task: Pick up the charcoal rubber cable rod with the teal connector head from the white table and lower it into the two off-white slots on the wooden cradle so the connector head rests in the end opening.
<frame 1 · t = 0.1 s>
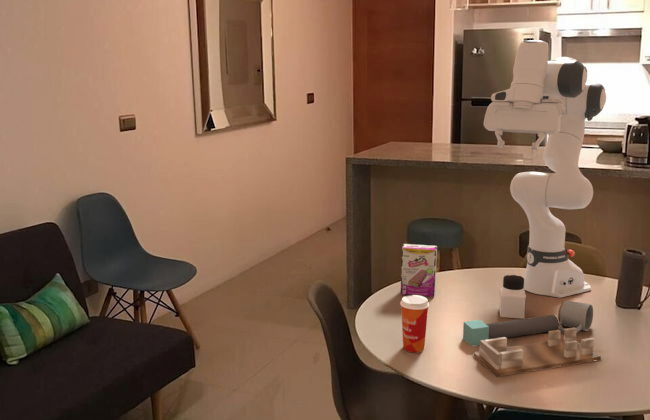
hand: (517, 148, 182), 52 cm above the table, tool tilted 20°, fingers open, 8 cm apart
medicine bottle: (511, 314, 204), on the table
paper cup: (413, 348, 181), on the table
ceramic mug: (573, 329, 193), on the table
candy bar box: (418, 294, 221), on the table
wooden cradle: (536, 357, 175), on the table
cable: (507, 336, 188), on the table
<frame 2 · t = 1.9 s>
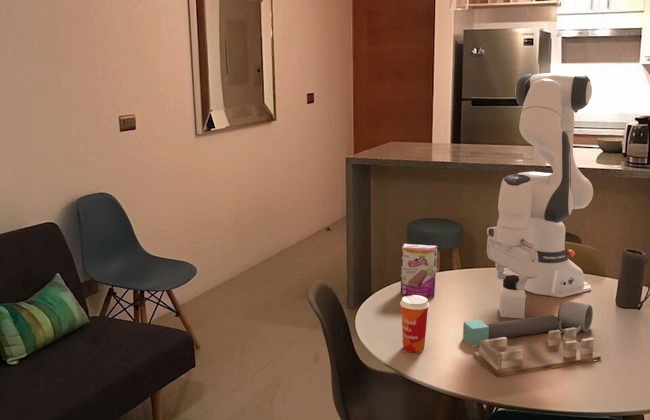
hand: (510, 284, 184), 16 cm above the table, tool pointing down, fingers open, 8 cm apart
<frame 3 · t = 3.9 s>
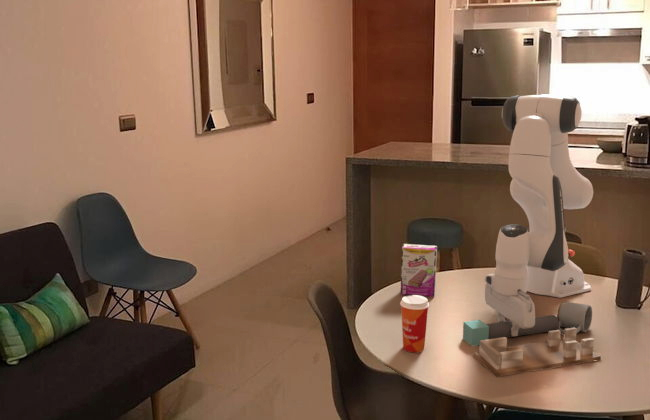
hand: (507, 331, 188), 2 cm above the table, tool pointing down, fingers closed on cable, 4 cm apart
cable: (507, 336, 188), on the table, touching gripper
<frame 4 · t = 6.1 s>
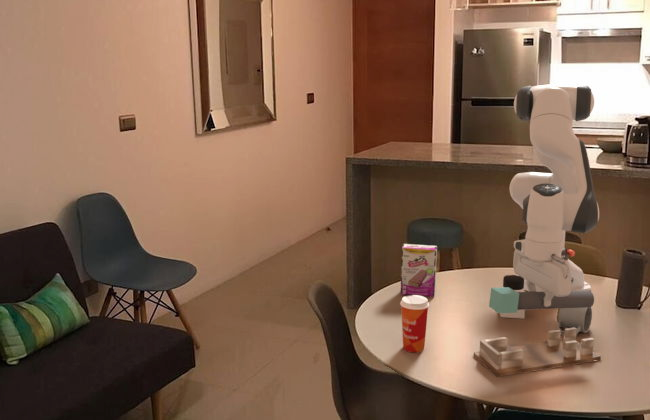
hand: (539, 301, 171), 16 cm above the table, tool pointing down, fingers closed on cable, 4 cm apart
cable: (537, 308, 172), point 14 cm above the table, tilted 5°, touching gripper
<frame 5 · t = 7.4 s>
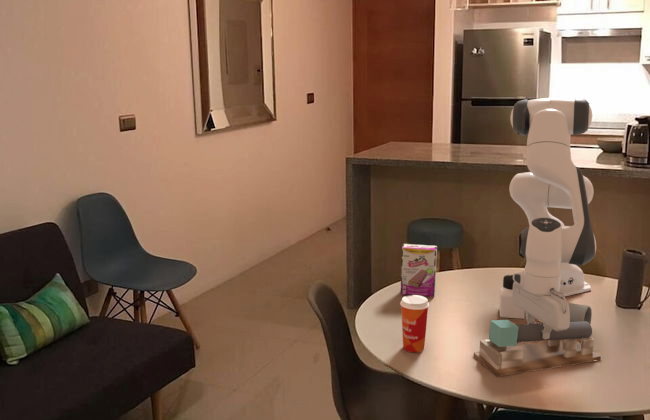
hand: (538, 333, 173), 7 cm above the table, tool pointing down, fingers closed on cable, 4 cm apart
cable: (536, 340, 174), point 5 cm above the table, touching gripper
when the fingers open (3 cm above the table, at t = 8.5 s): cable stays where it is, resting on wooden cradle.
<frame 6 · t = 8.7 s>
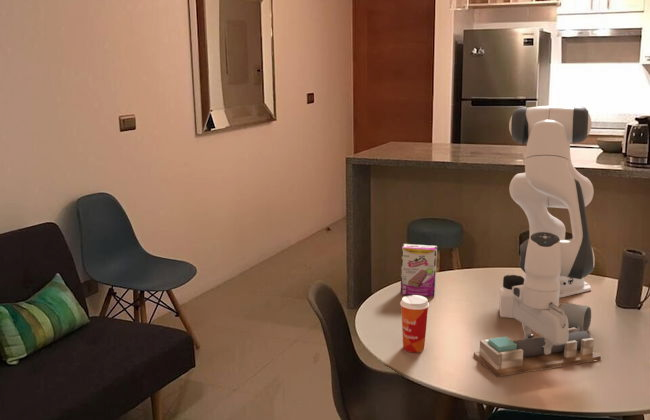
hand: (537, 346, 174), 3 cm above the table, tool pointing down, fingers open, 6 cm apart
cable: (535, 354, 175), point 1 cm above the table, touching wooden cradle
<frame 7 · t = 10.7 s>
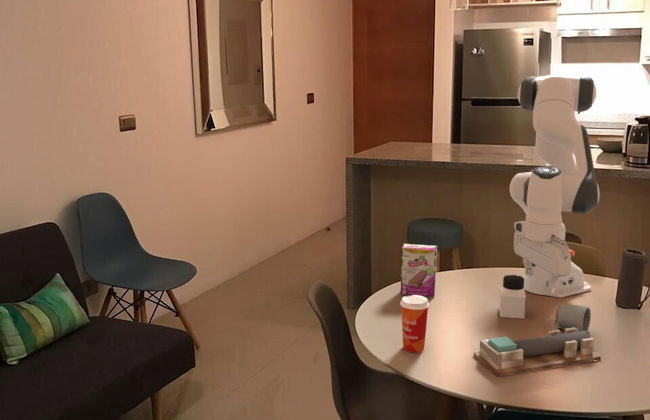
hand: (539, 281, 176), 19 cm above the table, tool pointing down, fingers open, 8 cm apart
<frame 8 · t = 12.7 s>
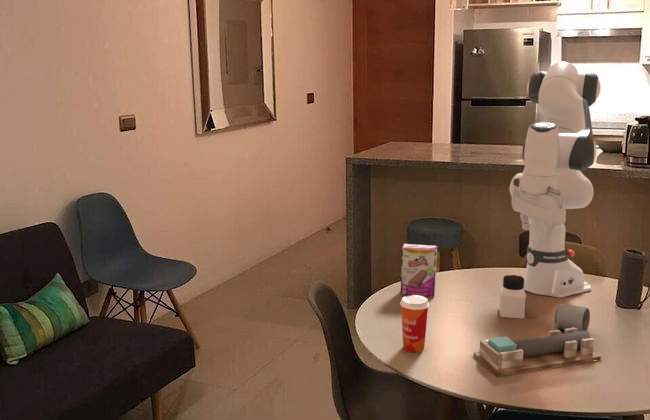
hand: (536, 234, 183), 29 cm above the table, tool pointing down, fingers open, 8 cm apart
at the end: cable 0.3 cm off-centre on the wooden cradle, point 1.0 cm above the wooden cradle's base; the gripper is holding nothing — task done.
